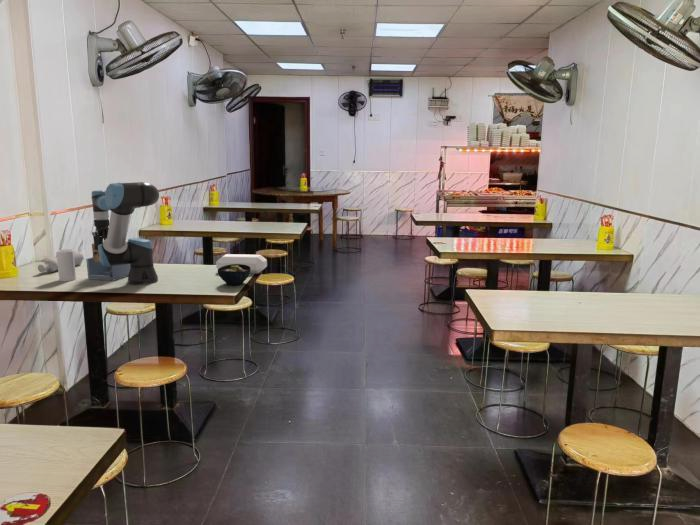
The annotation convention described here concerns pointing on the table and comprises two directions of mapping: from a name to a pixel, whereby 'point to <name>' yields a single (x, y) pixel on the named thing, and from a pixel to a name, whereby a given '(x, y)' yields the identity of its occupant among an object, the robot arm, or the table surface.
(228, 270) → the bowl
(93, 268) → the cabinet
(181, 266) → the table surface
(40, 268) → the bottle
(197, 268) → the table surface
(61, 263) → the cup
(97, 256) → the tan wooden block
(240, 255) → the crystal
